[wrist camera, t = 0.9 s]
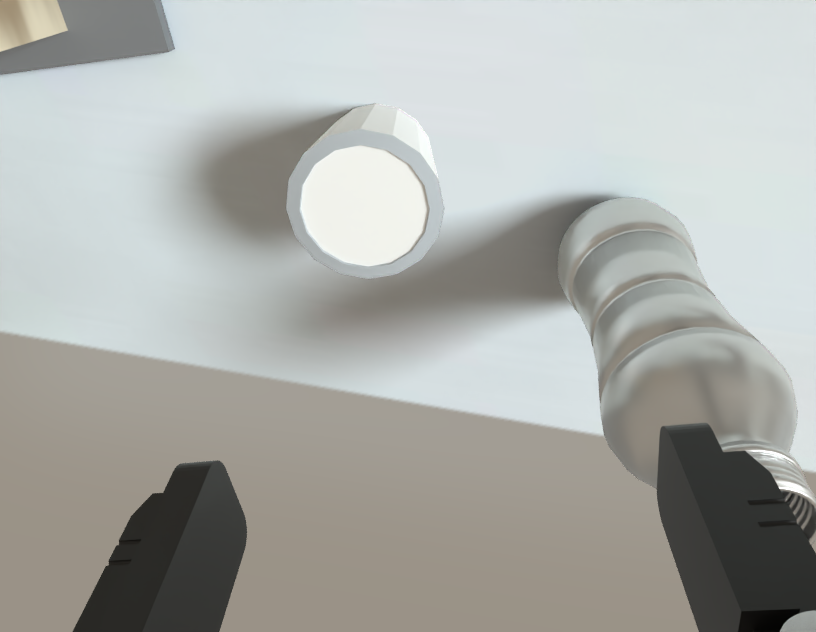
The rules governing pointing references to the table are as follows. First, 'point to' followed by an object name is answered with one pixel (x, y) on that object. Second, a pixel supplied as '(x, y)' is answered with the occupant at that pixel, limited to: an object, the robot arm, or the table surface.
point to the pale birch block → (28, 21)
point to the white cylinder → (367, 194)
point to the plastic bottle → (674, 348)
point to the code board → (95, 35)
